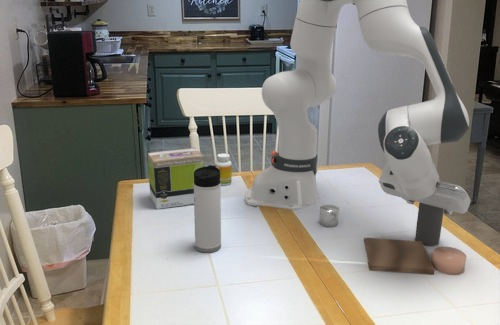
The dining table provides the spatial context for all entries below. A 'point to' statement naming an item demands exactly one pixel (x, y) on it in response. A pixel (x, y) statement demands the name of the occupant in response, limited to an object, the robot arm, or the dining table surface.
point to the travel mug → (207, 209)
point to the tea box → (173, 176)
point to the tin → (329, 216)
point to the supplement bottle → (224, 168)
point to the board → (397, 256)
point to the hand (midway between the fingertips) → (430, 206)
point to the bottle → (429, 224)
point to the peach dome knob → (448, 260)
